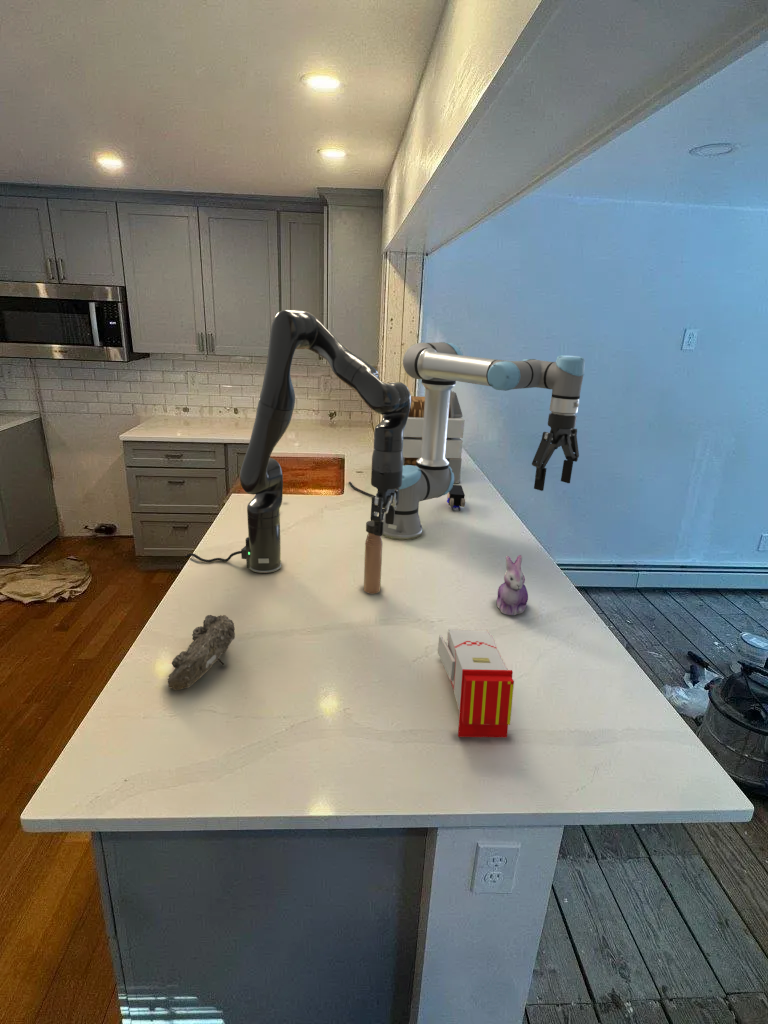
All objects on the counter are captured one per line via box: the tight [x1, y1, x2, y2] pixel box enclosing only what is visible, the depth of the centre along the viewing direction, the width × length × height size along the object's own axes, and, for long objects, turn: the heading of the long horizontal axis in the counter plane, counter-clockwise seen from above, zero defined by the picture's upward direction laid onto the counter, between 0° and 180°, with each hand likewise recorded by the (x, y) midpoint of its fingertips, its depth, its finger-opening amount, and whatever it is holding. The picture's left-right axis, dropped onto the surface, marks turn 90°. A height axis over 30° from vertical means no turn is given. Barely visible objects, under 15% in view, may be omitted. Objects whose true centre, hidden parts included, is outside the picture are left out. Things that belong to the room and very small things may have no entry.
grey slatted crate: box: [403, 390, 465, 484], centre depth 268 cm, size 34×33×41 cm
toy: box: [437, 628, 515, 738], centre depth 117 cm, size 12×13×30 cm
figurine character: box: [446, 484, 466, 511], centre depth 229 cm, size 7×8×15 cm
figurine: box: [496, 554, 529, 616], centre depth 150 cm, size 9×10×15 cm
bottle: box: [363, 532, 383, 594], centre depth 156 cm, size 5×5×20 cm
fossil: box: [167, 614, 236, 691], centre depth 122 cm, size 22×10×15 cm
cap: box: [365, 520, 374, 534], centre depth 153 cm, size 5×5×2 cm
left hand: (384, 529), depth 142 cm, fingers open, 8 cm apart
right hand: (552, 485), depth 166 cm, fingers open, 13 cm apart
